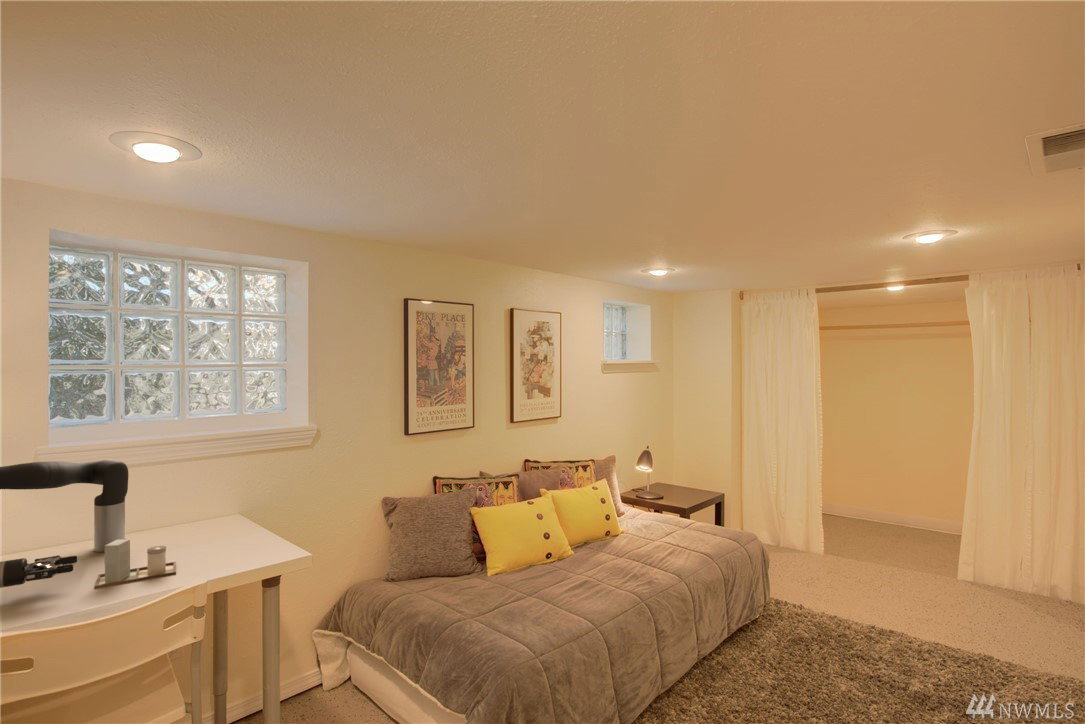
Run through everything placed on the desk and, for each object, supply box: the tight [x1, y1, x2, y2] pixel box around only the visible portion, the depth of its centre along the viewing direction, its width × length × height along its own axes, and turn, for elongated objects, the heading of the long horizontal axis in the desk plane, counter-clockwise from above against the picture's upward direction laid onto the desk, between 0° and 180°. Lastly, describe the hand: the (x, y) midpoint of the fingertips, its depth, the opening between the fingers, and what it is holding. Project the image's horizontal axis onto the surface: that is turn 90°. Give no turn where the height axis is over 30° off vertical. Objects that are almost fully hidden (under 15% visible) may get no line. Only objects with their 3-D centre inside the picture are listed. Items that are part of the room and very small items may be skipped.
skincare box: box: [104, 538, 131, 583], centre depth 180 cm, size 6×4×12 cm
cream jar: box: [146, 545, 167, 575], centre depth 185 cm, size 5×5×8 cm
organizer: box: [94, 561, 177, 589], centre depth 183 cm, size 11×21×2 cm, turn 124°
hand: (75, 563), depth 174 cm, fingers open, 8 cm apart
